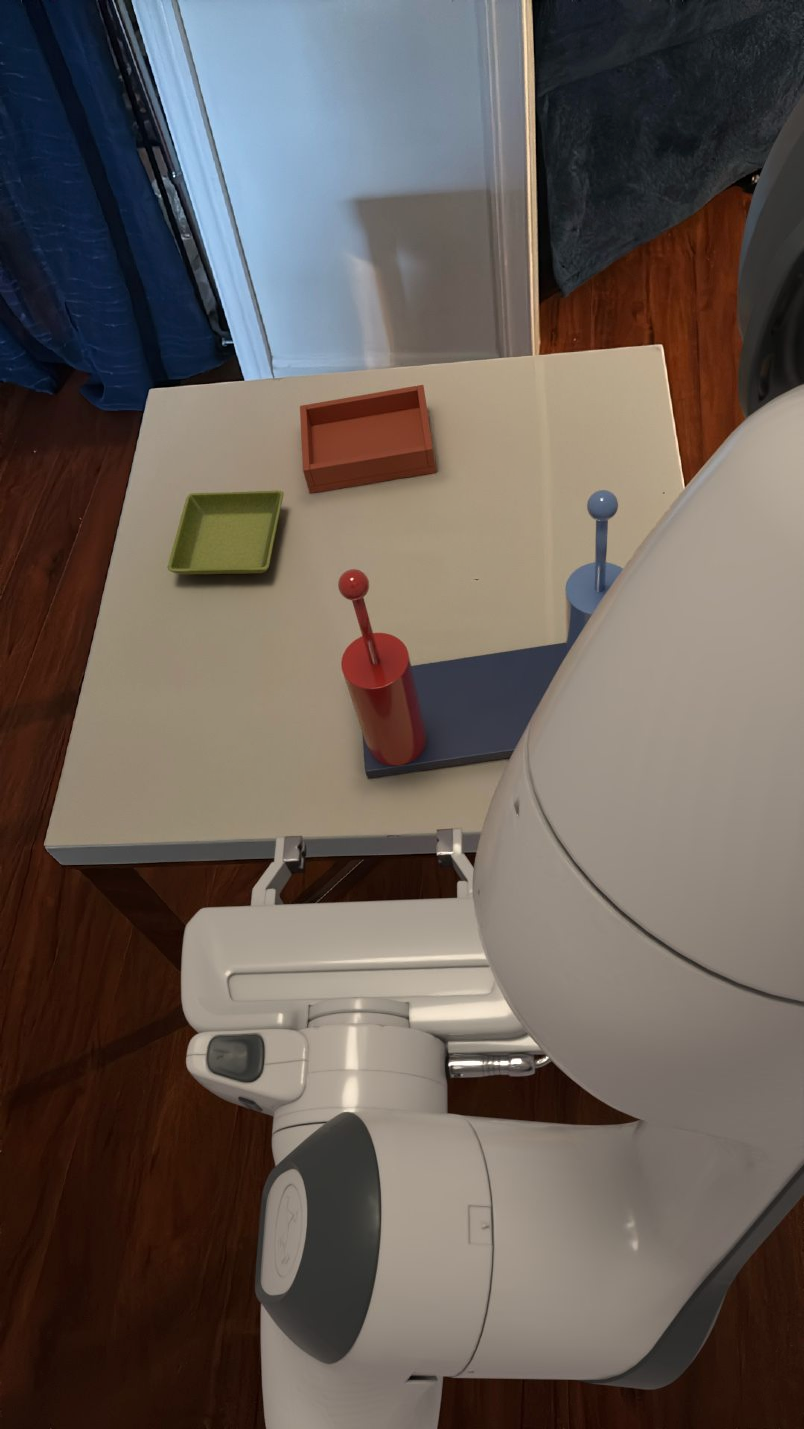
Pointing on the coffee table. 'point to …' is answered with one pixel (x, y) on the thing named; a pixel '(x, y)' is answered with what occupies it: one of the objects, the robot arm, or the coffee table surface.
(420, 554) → the coffee table surface
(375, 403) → the red tray
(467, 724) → the navy board
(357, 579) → the red ball-topped plunger
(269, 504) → the green tray
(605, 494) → the blue cylinder with rod
